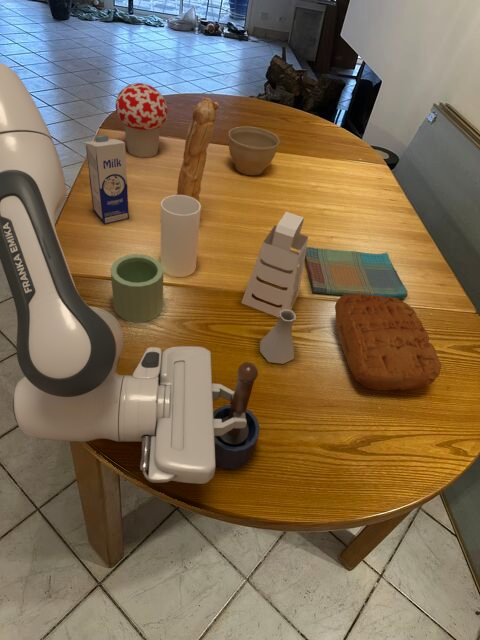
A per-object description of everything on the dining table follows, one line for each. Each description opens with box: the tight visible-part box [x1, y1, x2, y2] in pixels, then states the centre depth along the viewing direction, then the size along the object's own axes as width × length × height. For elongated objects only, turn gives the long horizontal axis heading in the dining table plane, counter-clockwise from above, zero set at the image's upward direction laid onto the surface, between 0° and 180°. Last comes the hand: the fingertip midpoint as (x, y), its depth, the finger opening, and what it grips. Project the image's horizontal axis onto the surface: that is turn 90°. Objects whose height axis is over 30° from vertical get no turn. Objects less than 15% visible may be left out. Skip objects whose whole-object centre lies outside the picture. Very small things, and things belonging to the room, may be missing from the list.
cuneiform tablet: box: [334, 294, 442, 391], centre depth 84 cm, size 22×17×8 cm
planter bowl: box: [228, 126, 280, 176], centre depth 136 cm, size 16×16×11 cm
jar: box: [110, 253, 165, 323], centre depth 84 cm, size 10×10×10 cm
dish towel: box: [304, 246, 408, 300], centre depth 104 cm, size 17×23×2 cm
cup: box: [159, 194, 202, 278], centre depth 92 cm, size 8×8×16 cm
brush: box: [216, 361, 259, 447], centre depth 59 cm, size 5×5×19 cm
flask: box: [259, 309, 297, 365], centre depth 80 cm, size 7×7×10 cm
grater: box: [240, 211, 309, 319], centre depth 88 cm, size 10×10×20 cm
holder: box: [213, 404, 261, 470], centre depth 65 cm, size 8×8×6 cm
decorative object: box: [115, 82, 168, 158], centre depth 131 cm, size 16×16×20 cm
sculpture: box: [176, 97, 220, 204], centre depth 102 cm, size 7×9×30 cm
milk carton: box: [84, 134, 130, 225], centre depth 102 cm, size 7×7×20 cm
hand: (244, 409), depth 59 cm, fingers closed on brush, 2 cm apart
